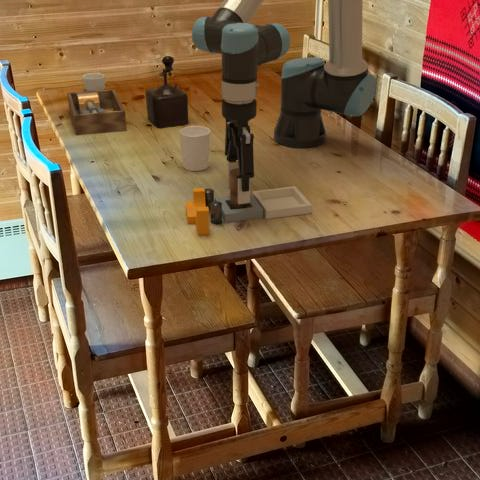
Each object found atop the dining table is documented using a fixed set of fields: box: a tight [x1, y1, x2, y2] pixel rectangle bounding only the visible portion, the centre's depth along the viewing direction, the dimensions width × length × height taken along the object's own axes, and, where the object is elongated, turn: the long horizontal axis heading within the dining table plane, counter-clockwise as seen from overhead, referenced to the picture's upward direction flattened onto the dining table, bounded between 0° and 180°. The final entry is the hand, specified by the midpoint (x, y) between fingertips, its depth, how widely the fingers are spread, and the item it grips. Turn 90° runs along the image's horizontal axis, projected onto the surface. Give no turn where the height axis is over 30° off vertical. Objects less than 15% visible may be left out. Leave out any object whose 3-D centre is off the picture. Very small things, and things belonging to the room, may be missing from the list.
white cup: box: [179, 125, 211, 172], centre depth 191 cm, size 8×8×10 cm
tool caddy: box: [66, 88, 128, 136], centre depth 224 cm, size 15×23×6 cm, turn 17°
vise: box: [76, 92, 111, 114], centre depth 224 cm, size 18×10×7 cm, turn 20°
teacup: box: [82, 72, 106, 91], centre depth 252 cm, size 10×8×5 cm
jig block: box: [214, 193, 264, 224], centre depth 168 cm, size 9×9×2 cm
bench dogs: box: [204, 188, 223, 225], centre depth 166 cm, size 3×10×5 cm, turn 16°
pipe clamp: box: [185, 187, 210, 236], centre depth 163 cm, size 12×4×6 cm, turn 7°
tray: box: [251, 185, 313, 220], centre depth 171 cm, size 11×11×3 cm
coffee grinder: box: [145, 55, 190, 129], centre depth 223 cm, size 16×11×18 cm
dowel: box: [229, 168, 247, 210], centre depth 166 cm, size 4×4×10 cm
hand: (238, 195), depth 167 cm, fingers open, 8 cm apart
